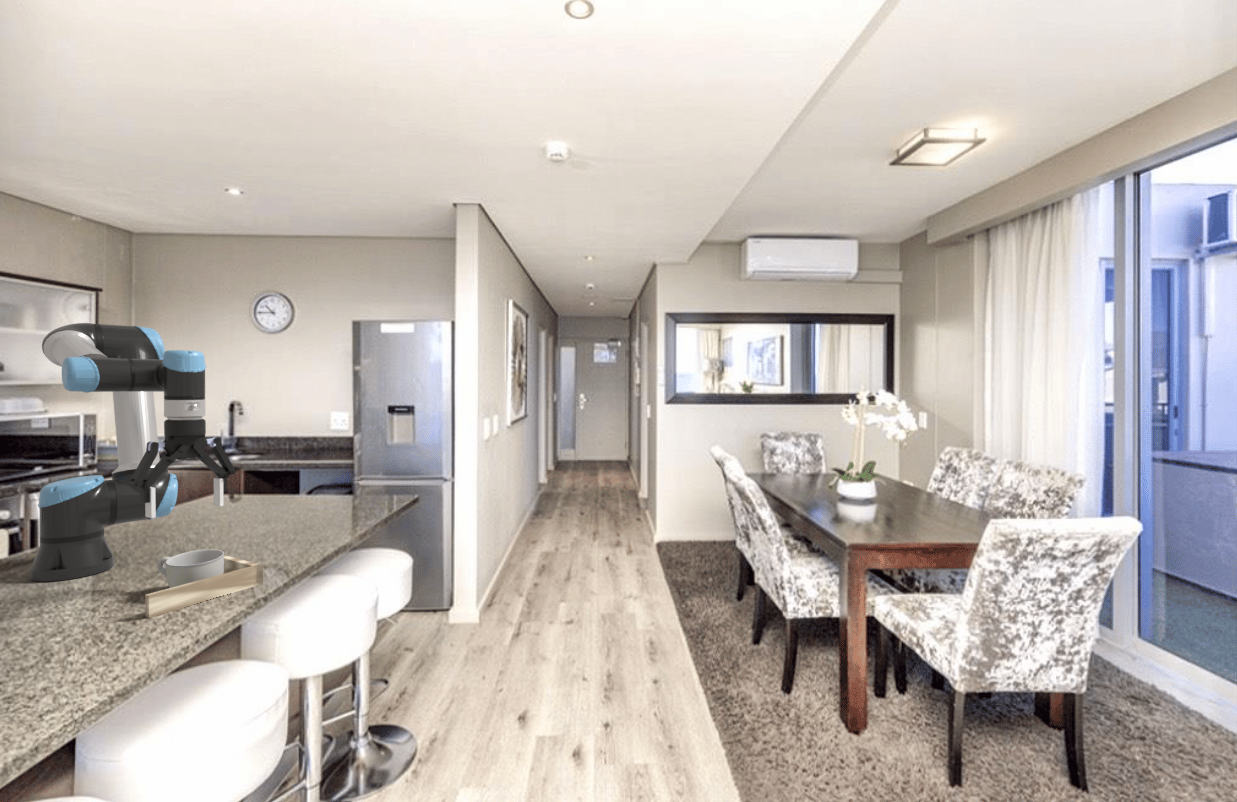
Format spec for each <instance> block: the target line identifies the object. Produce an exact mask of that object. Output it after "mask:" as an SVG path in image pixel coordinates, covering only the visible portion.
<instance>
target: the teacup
mask: <svg viewBox="0 0 1237 802" xmlns="http://www.w3.org/2000/svg"><path fill="white" fill-rule="evenodd" d="M224 555H225V552H224V551H223V550H221V549H216V548H214V549H213V548H209V549H207V548H206V549H205V548H204V549H197V550H196V549H195V550H190V551H186V552H183V553H179V554H176V555H173V556H164V557H162V558H160V559H159V560H158V561H157V563H156V568H157V571H158V572H159V574H161V575H162V576H163V577H165V578H166V581H167V586H168V587H169V588H172V587H176V586H180V585H183V584H187V583H191V582H195V581H198V580H202V579H206V578H210V577H213V576H217V575H221V574H223V573H224ZM165 566H166V567H165Z"/></svg>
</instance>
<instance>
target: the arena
mask: <svg viewBox="0 0 1237 802" xmlns="http://www.w3.org/2000/svg"><path fill="white" fill-rule="evenodd" d="M263 584H264V565H263V564H260V563H256V562H252V561H248V560H244V559H242V558H237V557H233V556H229V555H226V554H224V573H223V574H221V575H217V576H213V577H210V578H206V579H202V580H198V581H195V582H191V583H187V584H183V585H180V586H176V587H172V588H170V587H169V588H165V589H162V590H157V591H154V592H150V593H148V594H147V593H146V594H145V597H144V599H145V601H144V602H145V603H144V604H145V605H144V607H145V609H144V610H145V611H144V612H145V613H144V614H145V618H148V619H150V618H154V617H157V616H160V615H164V614H167V613H170V612H174V610H175V611H178V610H181V609H185V608H187V606H188V607H190V606H195V605H197V603H198V604H201V603H205V602H207V601H206V600H208V601H210V599H211V600H213V598H214V599H217V598H216V597H218V598H220V597H219V596H221V597H224V596H228V595H231V594H234V593H237V592H240V591H244V590H247V589H251V588H254V587H258V586H261V585H263ZM230 593H231V594H230ZM227 594H228V595H227ZM223 595H224V596H223ZM200 602H201V603H200ZM194 604H195V605H194ZM184 607H185V608H184Z"/></svg>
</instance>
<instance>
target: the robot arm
mask: <svg viewBox="0 0 1237 802" xmlns="http://www.w3.org/2000/svg"><path fill="white" fill-rule="evenodd" d="M41 349H42V354H44V356H45V358H47V360H48V361H50V362H51V363H53V364H54V365H56V366H58V367H61V382H62V384H63V385H62V386H63V388H64V389H65V390H66V391H69V392H79V393H80V392H82V393H85V394H86V393H92V392H93V393H104V392H105V393H106V392H109V393H111V392H112V401H113V413H114V425H115V427H114V428H115V437H116V449H117V450H116V451H117V459H118V460H117V463H118V467H116V469H115V470H113V471H112V472H111V479H105V477H104V476H103V475H100V474H98V475H97V474H94V475H93V474H91V475H87V476H86V475H85V476H76V477H70V478H66V479H63V480H62V479H61V480H57V481H54V482H50V483H48V484H46V485H44V486H43V487H42V488H41V489H40V490H39V497H38V500H39V501H38V504H37V507H38V508H39V547H38V550H37V552H36V555H35V556H34V559H33V562H32V564H31V566H30V569H29V571H30V575H29V578H30V580H31V581H35V582H57V581H67V580H73V579H79V578H84V577H88V576H93V575H95V574H100V573H102V572H106V571H107V570H108V571H109V570H110V569H112V568H113V567H114V566H115V557H114V554H113V552H112V550H111V547H110V545H109V544H108V542H107V541H108V540H107V539H106V536H105V527H106V526H110V525H117V524H124V523H132V522H139V521H140V522H141V521H146V520H148V521H149V520H150V521H151V520H152V519H157V518H164V517H166V516H169V515H170V514H171V513H172V511H173V510H174V508H175V505H176V504H177V498H178V492H179V490H178V489H179V482H178V478H177V475H176V474H174V473H170V472H168V468H169V467H170V465H171V464H173V463H174V462H175V461H176V460H177V461H184V460H185V461H186V460H188V459H191V460H193V459H198V460H200V461H201V462H202V464H204V465H205V467H206V468H208V469H209V470H210V471H211V472H212V473H214V474H215V475H216V477H213V505H214V506H216V507H224V492H227V491H228V479H229V478H230V476H231V475H236V473H237V471H236V468H235V467H234V465H233V463H232V462H231V460H230V458H229V456H228V455H227V453H226V451H225V450H224V447H223V445H222V444H223V443H222V439H221V437H218V436H215V437H214V436H211V437H209V438H206V431H207V430H206V427H207V426H206V425H207V423H206V420H205V419H204V418H203V417H205V416H206V369H207V366H206V360H205V354H204V353H203V352H202V351H198V350H182V349H181V350H178V349H177V350H176V349H168V350H166V349H165V344H164V341H163V340H162V337H161V335H160V333H158V331H157V330H155V329H153V328H152V327H145V326H144V327H143V326H139V325H122V324H120V325H119V324H105V323H104V324H103V323H90V322H89V323H88V322H77V323H70V324H66V325H63V326H60V327H57V328H54V329H53V330H51V331H49V333H47V334H46V335H45V336H44V338H43V340H42V344H41ZM154 392H163V417H164V418H166V419H165V420H164V421H163V429H164V430H163V431H164V432H163V433H164V434H163V435H164V440H163V442H159V437H158V428H157V427H158V425H157V418H156V416H157V415H156V414H157V413H156V407H155V404H156V403H155V395H154ZM207 446H208V447H210V449H211V450H212V453H214V456H215V457H216V458H217V461H218V462H219V464H220V465H219V464H218V463H217V462H216V461H215V460H214V459H213V458H211V457H210V455H209V454H208V453H207V452H206V450H205V448H206V447H207ZM162 449H163V450H164V451H165V453H164V454H163V455H162V456H161V458H160V452H161V450H162Z"/></svg>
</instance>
